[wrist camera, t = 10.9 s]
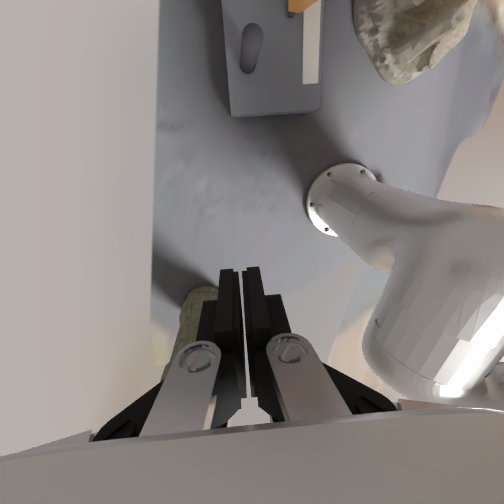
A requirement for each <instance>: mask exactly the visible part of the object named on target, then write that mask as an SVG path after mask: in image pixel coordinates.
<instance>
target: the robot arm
mask: <svg viewBox="0 0 504 504" xmlns="http://www.w3.org/2000/svg"><path fill="white" fill-rule="evenodd" d="M361 170H362V172H361V173H360V171H361ZM328 172H329V175H327V173H328ZM311 202H312V204H311V205H310V203H311ZM306 208H307V213H308V216H309V219H310V220H311V222H312V224H313V225H314V226H315V227H316V228H317V229H318V230H319V231H321V232H323V233H325V234H327V235H331V236H338V237H339V238H340V239H342V240H343V241H344V242H345V243H346V244H347V245H348V246H349V247H350V248H351V249H352V250H353V251H354V252H355V253H356V254H357V255H358V256H359V257H360V258H361V259H362V260H363V261H364V262H366V263H367V264H368V265H370V266H372V267H374V268H376V269H378V270H382V271H387V272H391V274H390V276H389V278H388V280H387V282H386V285H385V288H384V290H383V292H382V294H381V297H380V299H379V301H378V303H377V305H376V307H375V309H374V311H373V313H372V316H371V318H370V320H369V322H368V325H367V327H366V329H365V332H364V335H363V339H362V351H363V355H364V358H365V360H366V362H367V364H368V365H369V367H370V368H371V369H372V371H373V372H374V373H375V374H376V375H377V376H378V377H379V378H380V379H381V380H382V381H383V382H384V383H385V384H387V385H388V386H389V387H391V388H392V389H393V390H395V391H396V392H398V393H399V394H401V395H402V396H404V397H405V398H407V399H408V400H405V399H398V402H397V403H395V402H391V401H390V400H389V399H388V398H386V397H385V396H383V395H382V394H380V393H378V392H377V391H375V390H373V389H371V388H369V387H367V386H365V385H364V384H362V383H360V382H358V381H356V380H354V379H352V378H350V377H349V376H347V375H345V374H343V373H341V372H339V371H337V370H335V369H334V368H332V367H330V366H328V365H326V364H324V363H322V362H321V360H320V359H319V357H318V355H317V354H316V352H315V350H314V348H313V347H312V345H311V344H310V342H308V340H307V339H305V338H304V337H302V336H300V335H297V334H293V333H291V329H290V326H289V323H288V319H287V316H286V312H285V309H284V305H283V302H282V298H281V295H280V294H276V295H264V290H263V284H262V279H261V274H260V269H259V267H247V271H242V279H243V296H244V313H245V329H246V341H247V352H248V364H249V375H250V386H251V396H252V397H258V407H260V408H261V409H263V410H264V411H265V412H267V413H268V414H269V415H270V423H265V424H255V425H245V426H236V427H231V417H232V416H233V415H234V414H235V413H236V412H237V410H238V409H241V398H247V393H246V372H245V351H244V331H243V317H242V307H241V296H240V286H239V275H238V272H233V269H223V270H220V278H219V287H218V297H217V300H207V301H203V304H202V310H201V315H200V320H199V326H198V331H197V336H196V341H195V342H193V343H190V344H188V345H186V346H185V347H183V348H182V349H181V350H180V351H179V352H178V353H177V355H176V356H175V358H174V360H173V363H172V365H171V367H170V369H169V371H168V374H167V376H166V378H165V379H164V380H163V381H161V382H160V383H159V384H157V385H156V386H155V387H153V388H152V389H151V390H149V391H148V392H147V393H145V394H144V395H143V396H141V397H140V398H139V399H137V400H136V401H135V402H134V403H132V404H131V405H129V406H128V407H127V408H125V409H124V410H123V411H122V412H120V413H119V414H117V415H116V416H115V417H114V418H112V419H111V420H110V421H108V422H107V423H106V424H105V425H104V426H103V427H102V428H101V429H100V430H99V432H97V433H94V434H93V432H92V430H89V431H86V432H82V433H79V434H76V435H73V436H70V437H66V438H63V439H60V440H57V441H54V442H51V443H47V444H44V445H41V446H38V447H35V448H31V449H28V450H25V451H22V452H18V453H14V454H9V455H5V456H1V457H0V504H504V362H499V361H500V360H501V358H502V357H503V356H504V208H500V207H494V206H487V205H478V204H467V203H459V202H450V201H444V200H438V199H435V198H431V197H427V196H423V195H419V194H416V193H413V192H410V191H406V190H403V189H399V188H396V187H393V186H390V185H387V184H384V183H381V182H377V180H376V178H375V176H374V175H373V174H372V172H370V171H369V170H368V169H367V168H365V167H363V166H361V165H358V164H353V163H341V164H337V165H334V166H332V167H330V168H328V169H326V170H325V171H323V172H322V173H321V174H320V175H319V176H318V177H317V178H316V179H315V180H314V182H313V183H312V185H311V187H310V189H309V191H308V195H307V200H306ZM324 228H326V229H324Z"/></svg>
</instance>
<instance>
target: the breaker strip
mask: <svg viewBox="0 0 504 504" xmlns="http://www.w3.org/2000/svg"><path fill="white" fill-rule="evenodd" d="M221 2H222V14H223V26H224V38H225V50H226V62H227V74H228V86H229V98H230V110H231V118H237V117H252V116H268V115H283V114H298V113H310V112H314V111H317V110H320V107H321V82H322V56H323V31H324V5H325V0H319V1H317V2H316V3H314V4H313V5H311V6H310V7H308V8H307V9H305V10H304V11H302V12H301V13H296V12H295V16H294V17H291V18H290V17H288V0H221ZM249 23H256V24H258V25H259V26H260V27H261V28H262V30H263V34H264V40H263V44H262V47H261V50H260V54H259V57H258V60H257V63H256V67H255V69H254V71H253V72H252V73H250V74H245V73H243V72H242V71H241V69H240V51H241V37H242V31H243V29H244V27H245V26H246V25H247V24H249Z"/></svg>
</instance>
